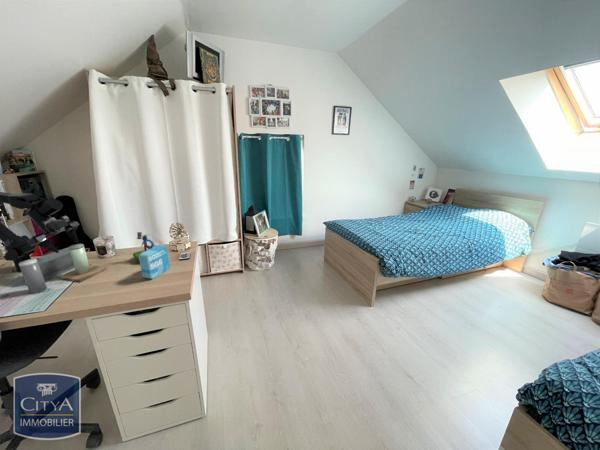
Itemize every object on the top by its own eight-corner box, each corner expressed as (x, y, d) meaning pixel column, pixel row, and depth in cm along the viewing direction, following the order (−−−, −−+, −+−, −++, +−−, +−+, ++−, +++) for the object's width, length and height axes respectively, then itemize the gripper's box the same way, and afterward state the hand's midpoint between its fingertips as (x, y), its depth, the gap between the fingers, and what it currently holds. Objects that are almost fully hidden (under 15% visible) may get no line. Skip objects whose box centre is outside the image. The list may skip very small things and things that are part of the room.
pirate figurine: (165, 252, 138) (161, 226, 134) (161, 261, 127) (156, 234, 122) (137, 255, 134) (131, 229, 129) (130, 265, 123) (124, 237, 118)
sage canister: (74, 272, 113) (66, 246, 109) (88, 268, 117) (81, 242, 113) (78, 275, 111) (71, 249, 107) (92, 271, 115) (85, 245, 111)
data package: (151, 280, 110) (146, 255, 106) (142, 279, 111) (137, 254, 107) (170, 267, 121) (166, 245, 117) (162, 266, 122) (158, 244, 118)
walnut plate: (59, 278, 110) (59, 276, 110) (87, 266, 121) (86, 264, 121) (80, 282, 108) (80, 280, 107) (106, 269, 119) (106, 267, 118)
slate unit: (25, 280, 108) (18, 264, 106) (74, 260, 127) (69, 246, 124) (40, 283, 106) (34, 266, 104) (87, 262, 125) (83, 248, 122)
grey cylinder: (26, 292, 100) (15, 263, 96) (41, 286, 104) (30, 258, 100) (35, 294, 99) (24, 265, 94) (50, 287, 103) (40, 259, 99)
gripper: (27, 221, 100) (56, 252, 105) (73, 205, 117) (96, 232, 122) (14, 230, 104) (43, 260, 109) (60, 214, 121) (83, 240, 125)
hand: (68, 247), depth 116 cm, fingers open, 9 cm apart
